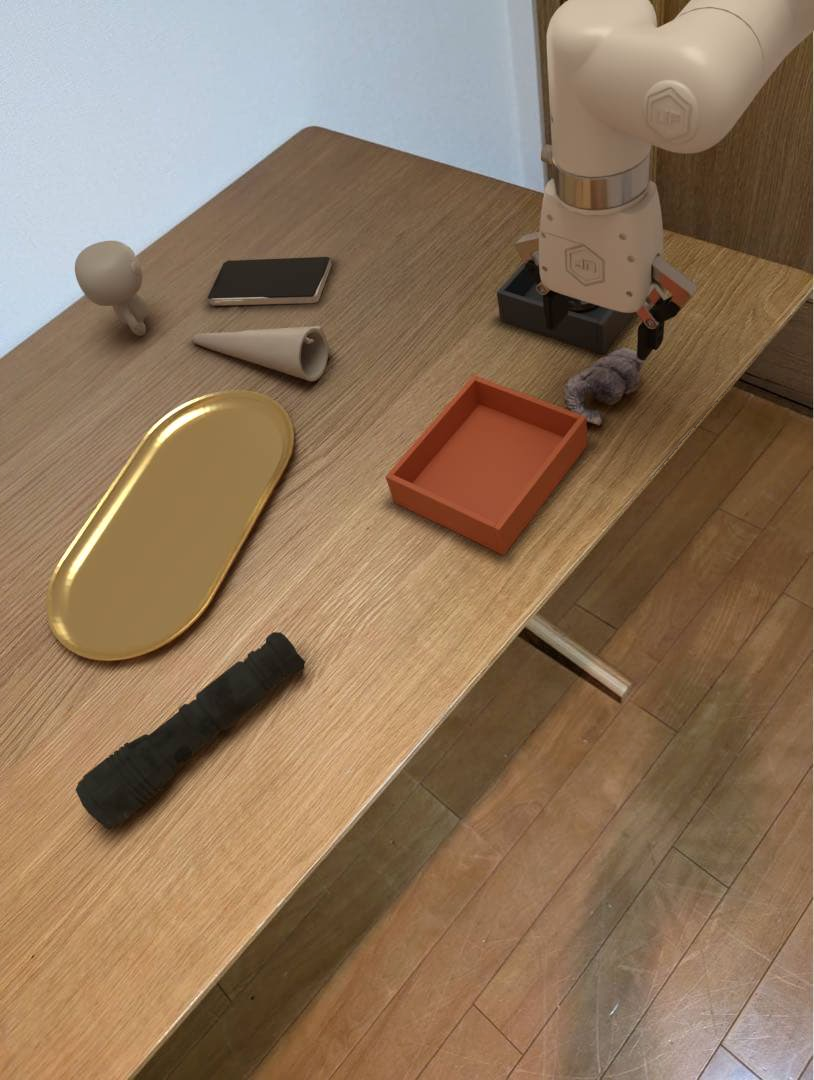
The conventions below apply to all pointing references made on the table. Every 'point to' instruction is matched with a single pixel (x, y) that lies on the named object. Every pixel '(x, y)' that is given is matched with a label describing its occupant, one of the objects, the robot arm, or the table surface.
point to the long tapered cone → (275, 349)
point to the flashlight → (184, 733)
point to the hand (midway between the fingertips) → (601, 335)
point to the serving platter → (169, 526)
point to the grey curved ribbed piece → (604, 382)
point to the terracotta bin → (488, 462)
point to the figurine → (113, 281)
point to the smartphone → (270, 281)
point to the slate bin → (576, 328)
